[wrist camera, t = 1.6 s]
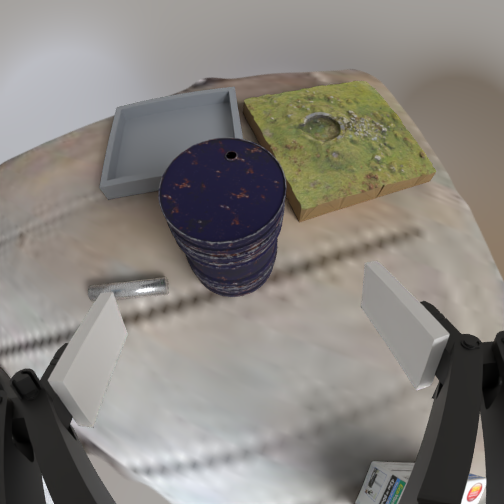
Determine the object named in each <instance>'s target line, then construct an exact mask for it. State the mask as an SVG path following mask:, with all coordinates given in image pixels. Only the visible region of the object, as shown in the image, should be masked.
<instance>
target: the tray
mask: <svg viewBox="0 0 504 504" xmlns="http://www.w3.org/2000/svg"><path fill="white" fill-rule="evenodd" d="M225 137H230V138H239V139H243V136H242V130H241V124H240V118H239V111H238V105H237V99H236V93H235V87H228V88H219V89H211V90H203V91H196V92H190V93H183V94H177V95H172V96H166V97H161V98H156V99H151V100H146V101H142V102H137V103H133V104H129V105H125V106H121V107H117V109H116V113H115V116H114V120H113V124H112V128H111V132H110V137H109V141H108V146H107V150H106V155H105V160H104V165H103V171H102V176H101V182H100V189H101V191H102V192H103V193H104V195H105V196H106V197H107V199H108V200H109V199H114V198H119V197H124V196H130V195H135V194H141V193H147V192H153V191H159V186H160V181H161V178H162V176H163V174H164V172H165V170H166V168H167V167H168V165H169V164H170V163H171V162H172V160H173V159H174V158H175V157H176V156H178V155H179V154H180V153H181V152H183V151H184V150H185V149H187V148H189V147H191V146H192V145H194V144H197V143H199V142H202V141H205V140H209V139H214V138H225Z"/></svg>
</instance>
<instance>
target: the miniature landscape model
mask: <svg viewBox="0 0 504 504" xmlns="http://www.w3.org/2000/svg"><path fill="white" fill-rule="evenodd" d="M243 113H244V115H245V117H246V119H247V121H248V123H249V125H250V127H251V128H252V130H253V132H254V134H255V136H256V138H257V140H258V141H259V143H260V145H261V146H262V147H263V148H265V149H266V150H268V151H269V152H270V153H271V154H272V155H273V156H274V157H275V158H276V159H277V161H278V162H279V163H280V165H281V167H282V169H283V171H284V174H285V178H286V187H287V188H286V197H287V199H288V200H289V202H290V204H291V207H292V209H293V211H294V213H295V215H296V217H297V219H298V221H299V222H302V221H305V220H308V219H311V218H314V217H317V216H320V215H323V214H326V213H329V212H332V211H336V210H339V209H342V208H345V207H349V206H352V205H355V204H358V203H361V202H364V201H368V200H371V199H374V198H377V197H380V196H384V195H387V194H390V193H393V192H397V191H400V190H403V189H406V188H410V187H413V186H416V185H419V184H423V183H426V182H429V181H430V180H431V179H432V177H433V176H434V174H435V173H436V170H435V168H434V167H432V163H431V162H430V161H429V159H428V157H427V156H426V154H425V153H424V151H423V150H422V149H421V148H420V146H419V145H418V144H417V142H416V140H415V139H414V138H413V137H412V135H411V134H410V132H409V131H408V130H407V129H406V128H405V126H404V125H403V124H402V121H401V119H400V118H399V117H398V115H397V114H396V113H395V112H394V111H393V110H392V109H391V108H390V107H389V105H388V104H387V102H386V101H385V100H384V99H383V98H382V97H381V95H380V94H379V93H378V92H377V91H376V90H375V88H373V87H372V86H370V85H369V84H368V83H367V82H365V81H353V82H349V83H342V84H335V85H327V86H323V85H322V86H316V87H312V88H306V89H301V90H297V91H289V92H283V93H281V94H274V95H269V94H266V95H262V96H260V97H258V98H257V97H253V98H247V99H245V100H244V108H243Z"/></svg>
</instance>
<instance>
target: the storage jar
mask: <svg viewBox="0 0 504 504" xmlns="http://www.w3.org/2000/svg"><path fill="white" fill-rule="evenodd" d="M286 188H287V187H286V178H285V174H284V171H283V169H282V167H281V165H280V163H279V162H278V161H277V159H276V158H275V157H274V156H273V155H272V154H271V153H270V152H269V151H268V150H266V149H265V148H263V147H262V146H260V145H258V144H256V143H254V142H251V141H248V140H244V139H239V138H230V137H225V138H214V139H209V140H205V141H202V142H199V143H197V144H194V145H192V146H191V147H189V148H187V149H185V150H184V151H183V152H181V153H180V154H179V155H178V156H176V157H175V158H174V159H173V160H172V162H171V163H170V164H169V165H168V167H167V168H166V170H165V172H164V174H163V176H162V178H161V181H160V186H159V203H160V207H161V210H162V212H163V215H164V217H165V218H166V220H167V223H168V226H169V228H170V230H171V232H172V234H173V236H174V238H175V240H176V242H177V244H178V245H179V247H180V248H181V250H182V251H183V252H184V253H185V254H186V257H187V260H188V262H189V264H190V266H191V268H192V270H193V272H194V273H195V275H196V276H197V277H198V278H199V280H200V281H201V283H202V284H203V285H204V286H205V287H206V288H208V289H209V290H210V291H212V292H214V293H216V294H219V295H222V296H227V297H238V296H244V295H247V294H250V293H252V292H254V291H255V290H257V289H258V288H260V287H261V286H262V285H263V284H264V283H265V282H266V280H267V279H268V278H269V276H270V274H271V272H272V269H273V265H274V262H275V259H276V254H277V237H278V235H279V233H280V230H281V227H282V220H283V215H284V207H285V203H284V202H285V196H286Z"/></svg>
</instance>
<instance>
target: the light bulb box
mask: <svg viewBox="0 0 504 504" xmlns="http://www.w3.org/2000/svg"><path fill="white" fill-rule="evenodd" d="M414 464H415V463H402V462H379V461H372V463H371V465H370V468H369V470H368V473H367V476H366V478H365V481H364V483H363V486H362V488H361V491H360V493H359V495H358V497H357V500H356V502H355V504H398V503H399V501H400V499H401V496H402V494H403V492H404V489H405V487H406V485H407V482H408V480H409V477H410V475H411V472H412V469H413V467H414ZM485 486H486V478H485V477H481V476H477V475H474V474H471V473H469V476H468V480H467V484H466V488H465V491H464V495H463V498H462V502H461V504H478V502H479V500H480V497H481V495H482V493H483V491H484V488H485Z"/></svg>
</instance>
